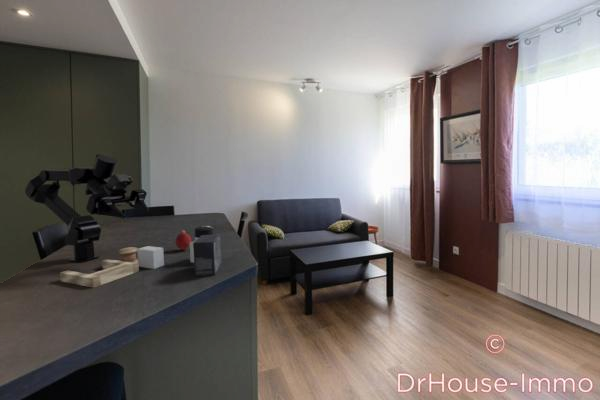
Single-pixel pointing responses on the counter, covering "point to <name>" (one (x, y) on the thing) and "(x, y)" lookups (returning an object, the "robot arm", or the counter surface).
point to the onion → (183, 240)
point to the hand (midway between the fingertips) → (136, 213)
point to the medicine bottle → (198, 232)
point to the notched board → (101, 273)
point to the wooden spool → (129, 254)
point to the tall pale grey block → (150, 257)
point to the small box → (207, 255)
